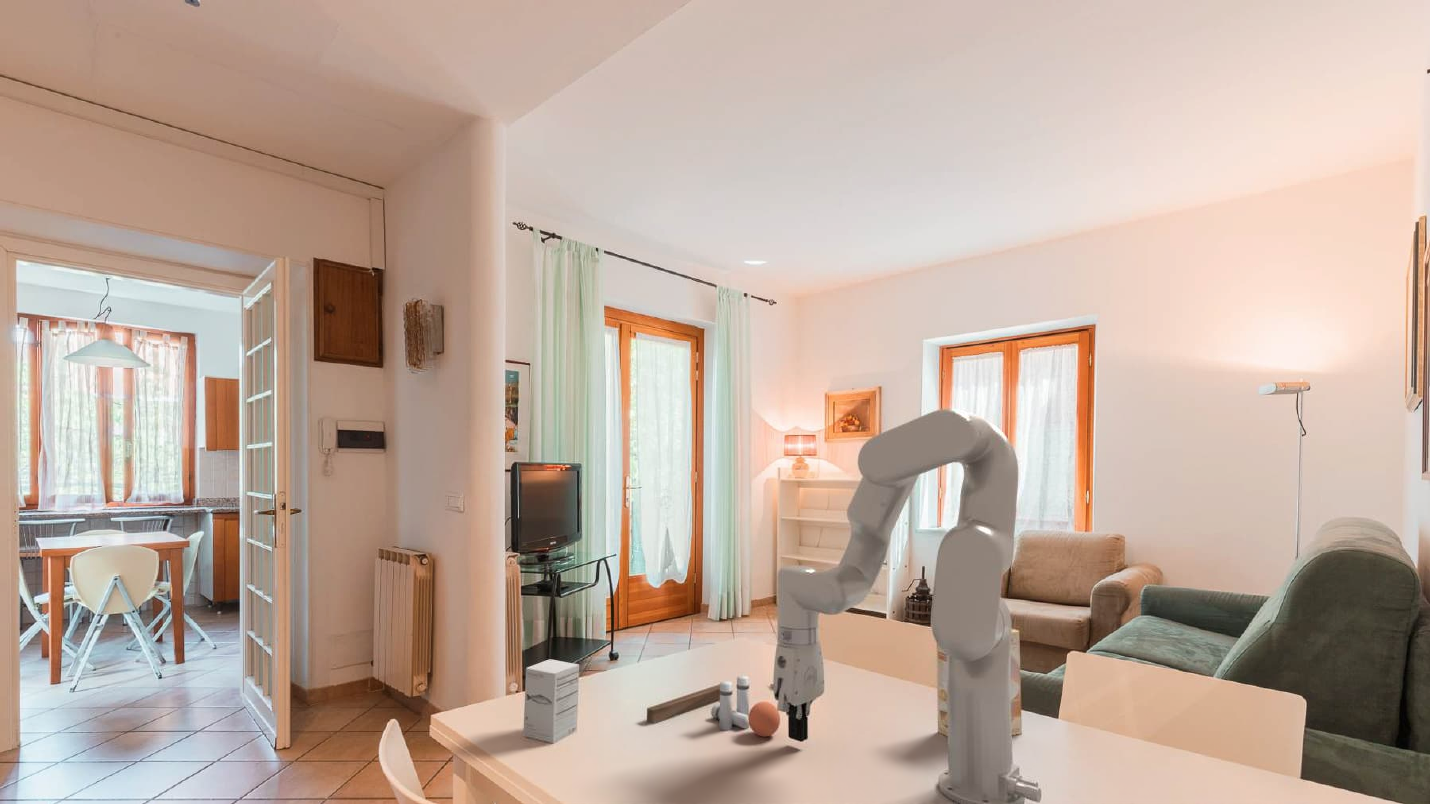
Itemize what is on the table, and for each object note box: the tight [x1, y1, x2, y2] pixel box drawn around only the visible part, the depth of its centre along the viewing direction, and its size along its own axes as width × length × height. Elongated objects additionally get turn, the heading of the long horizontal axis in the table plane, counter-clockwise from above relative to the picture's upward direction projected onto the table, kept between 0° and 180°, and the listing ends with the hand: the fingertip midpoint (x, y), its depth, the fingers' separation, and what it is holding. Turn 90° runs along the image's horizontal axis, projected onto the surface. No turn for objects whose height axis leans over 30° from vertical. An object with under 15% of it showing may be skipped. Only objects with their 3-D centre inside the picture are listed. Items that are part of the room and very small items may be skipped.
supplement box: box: [522, 658, 580, 745], centre depth 131 cm, size 7×7×13 cm
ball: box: [749, 701, 781, 737], centre depth 130 cm, size 6×6×6 cm
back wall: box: [646, 683, 720, 725], centre depth 144 cm, size 2×22×2 cm, turn 137°
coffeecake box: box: [936, 628, 1023, 738], centre depth 133 cm, size 15×7×20 cm, turn 112°
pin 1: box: [719, 680, 733, 731], centre depth 134 cm, size 2×2×8 cm
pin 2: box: [736, 675, 750, 716], centre depth 138 cm, size 2×2×8 cm
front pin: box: [710, 704, 750, 730], centre depth 136 cm, size 2×2×8 cm
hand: (798, 738), depth 125 cm, fingers closed
